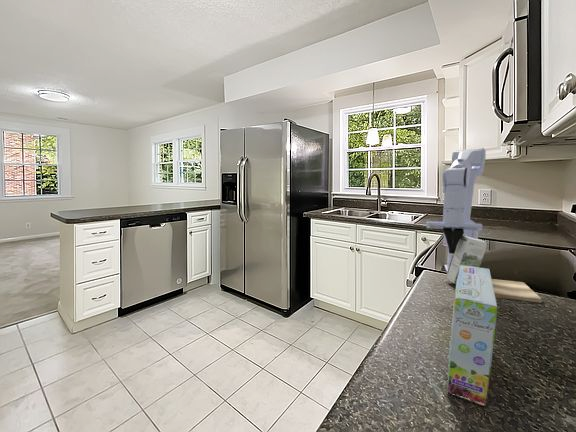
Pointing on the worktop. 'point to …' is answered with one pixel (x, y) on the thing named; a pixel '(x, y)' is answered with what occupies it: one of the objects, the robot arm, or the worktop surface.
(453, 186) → the robot arm
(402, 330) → the worktop surface
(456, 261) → the syrup box
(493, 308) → the snack box
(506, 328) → the worktop surface
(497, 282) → the cutting board
